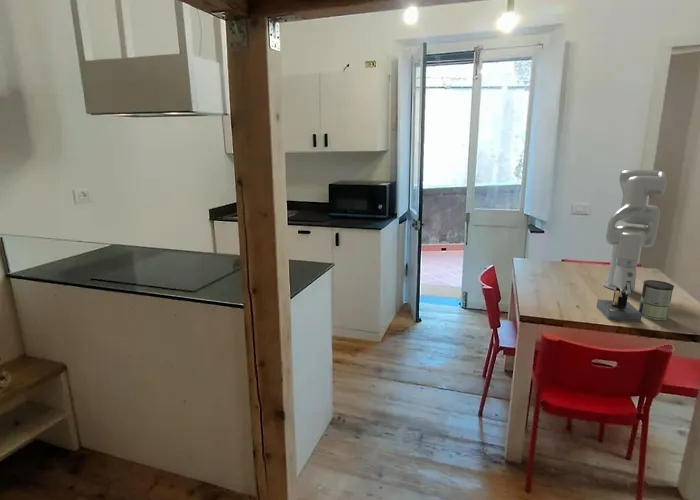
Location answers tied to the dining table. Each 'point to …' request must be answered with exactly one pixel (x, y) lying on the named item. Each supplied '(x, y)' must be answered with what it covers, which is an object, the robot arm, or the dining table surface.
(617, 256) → the robot arm
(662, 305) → the coffee can
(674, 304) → the dining table surface
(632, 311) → the jig
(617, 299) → the gold rounded cylinder
